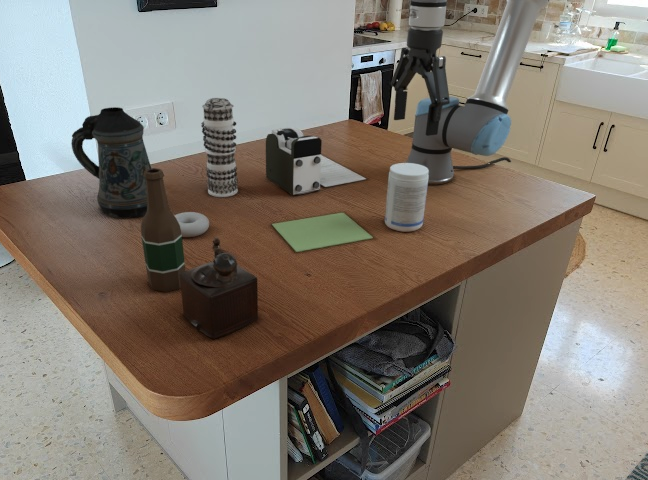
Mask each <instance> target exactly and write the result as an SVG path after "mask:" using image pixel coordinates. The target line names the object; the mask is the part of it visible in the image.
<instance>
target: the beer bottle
mask: <svg viewBox="0 0 648 480" xmlns="http://www.w3.org/2000/svg"><path fill="white" fill-rule="evenodd" d="M151 168H152V169H147V170H146V171H144V175H143V176H144V177H145V179H146V192H147V212H146V214H145V216H143V218H142V220H141V224H140V235H141V236H140V237H141V242H142V249H143V250H142V251H143V254H144V263H145V269H146V276H147V279H148V283H149V285H150V287H151V288H152V290H154V291H158V292H163V293H168V292H172V291H176V290H181V285H180V273H181V272H184V271H187V270H186V260H185V252H184V241H183V237H182V233H181V228H180V225H179V223H178V221H177V219H176V217H175V216H174V215H175V214H174V213H173V212H172V211H171V210H170V209H171V208H170V206H169V203H168V198H167V197H168V196H167V193H166V187H165V182H164V177H165V173H164V171H163V170H162V169H161V168H157V167H151Z"/></svg>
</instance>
